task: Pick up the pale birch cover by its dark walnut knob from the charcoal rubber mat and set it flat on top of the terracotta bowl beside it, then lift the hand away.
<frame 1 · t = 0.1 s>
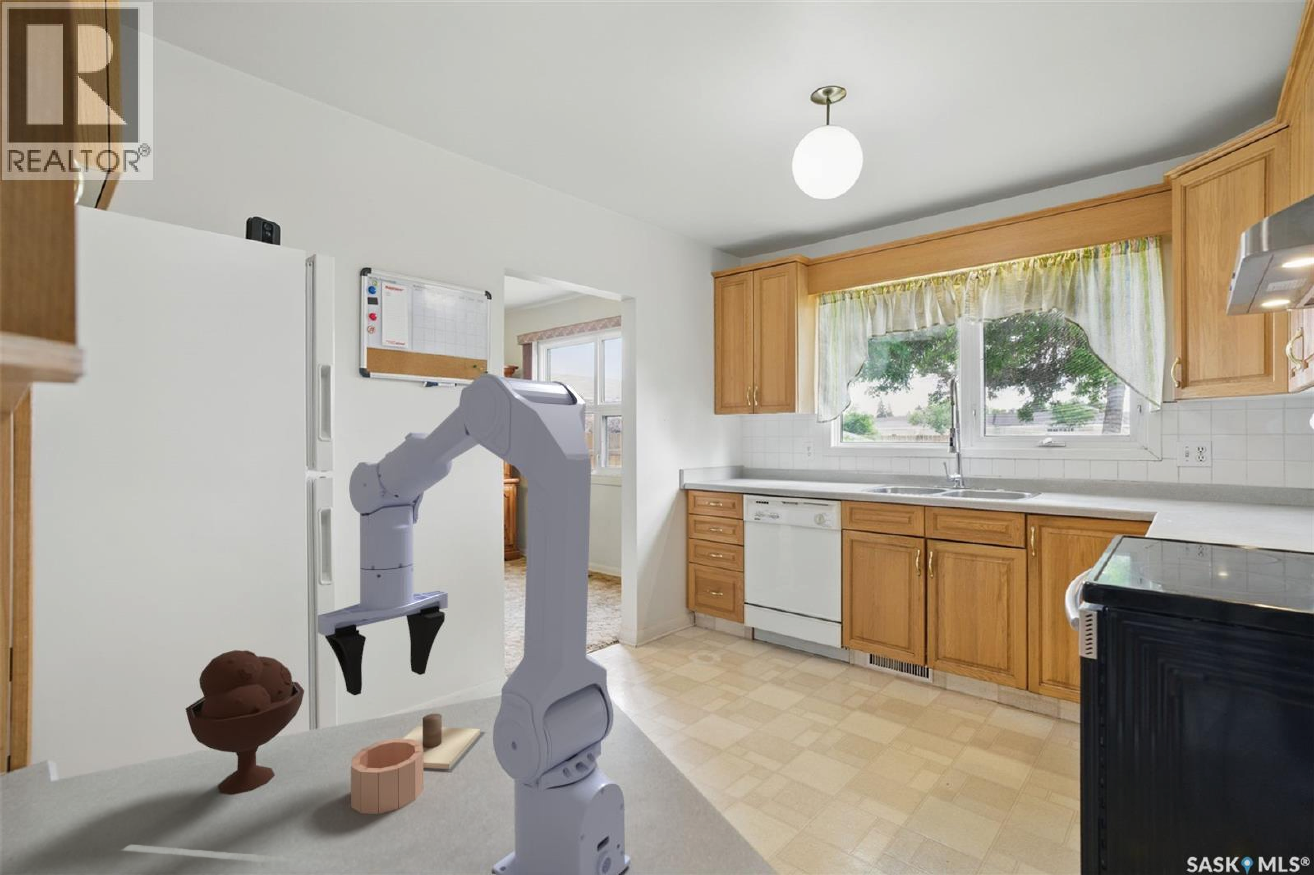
hand: (387, 682, 71), 10 cm above the countertop, tool pointing down, fingers open, 7 cm apart
bowl: (387, 797, 65), on the countertop
mat: (432, 751, 74), on the countertop
cover: (432, 748, 74), on the countertop, touching mat
ice cream bowl: (246, 786, 67), on the countertop
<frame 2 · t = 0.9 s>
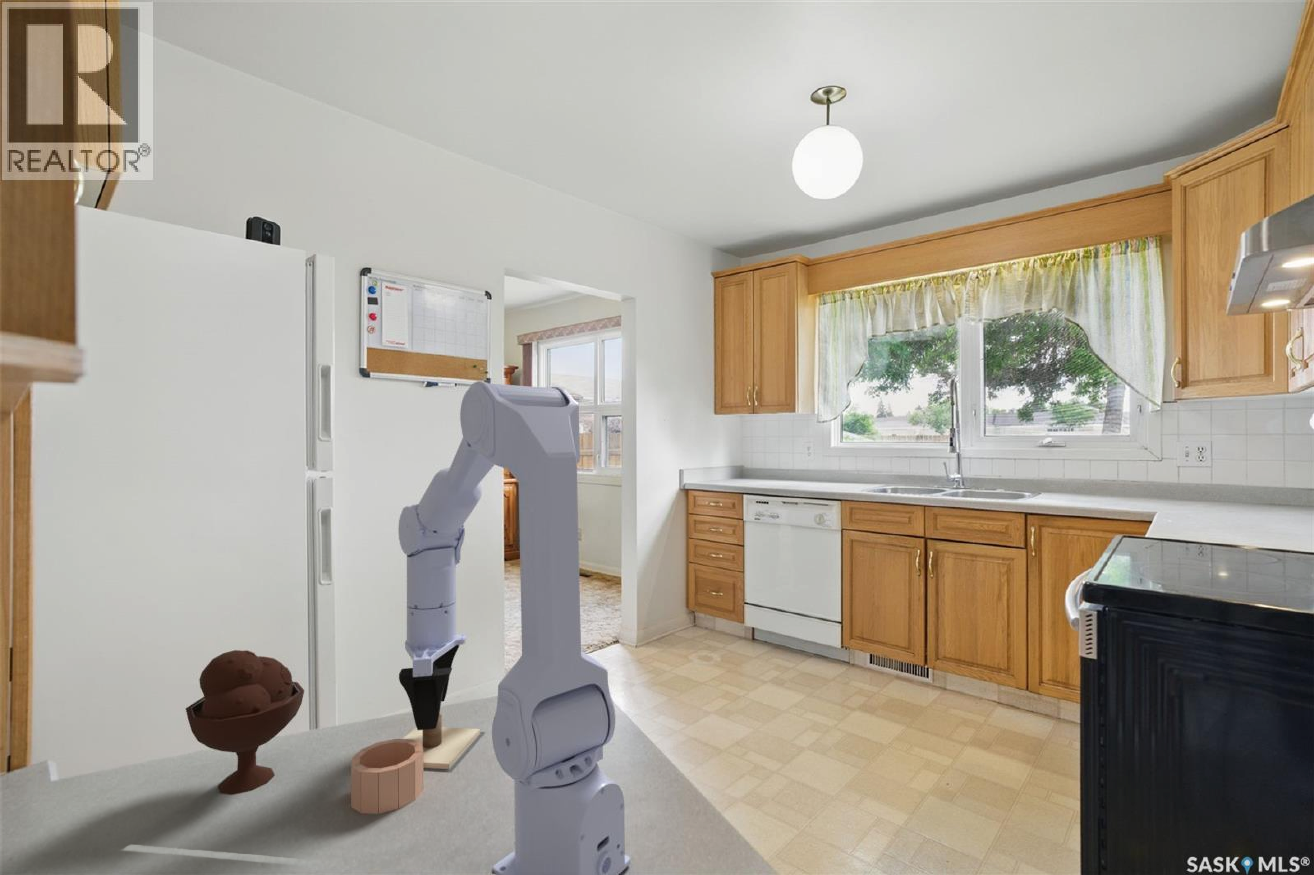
hand: (431, 714, 74), 5 cm above the countertop, tool pointing down, fingers open, 7 cm apart
nothing on the countertop moved.
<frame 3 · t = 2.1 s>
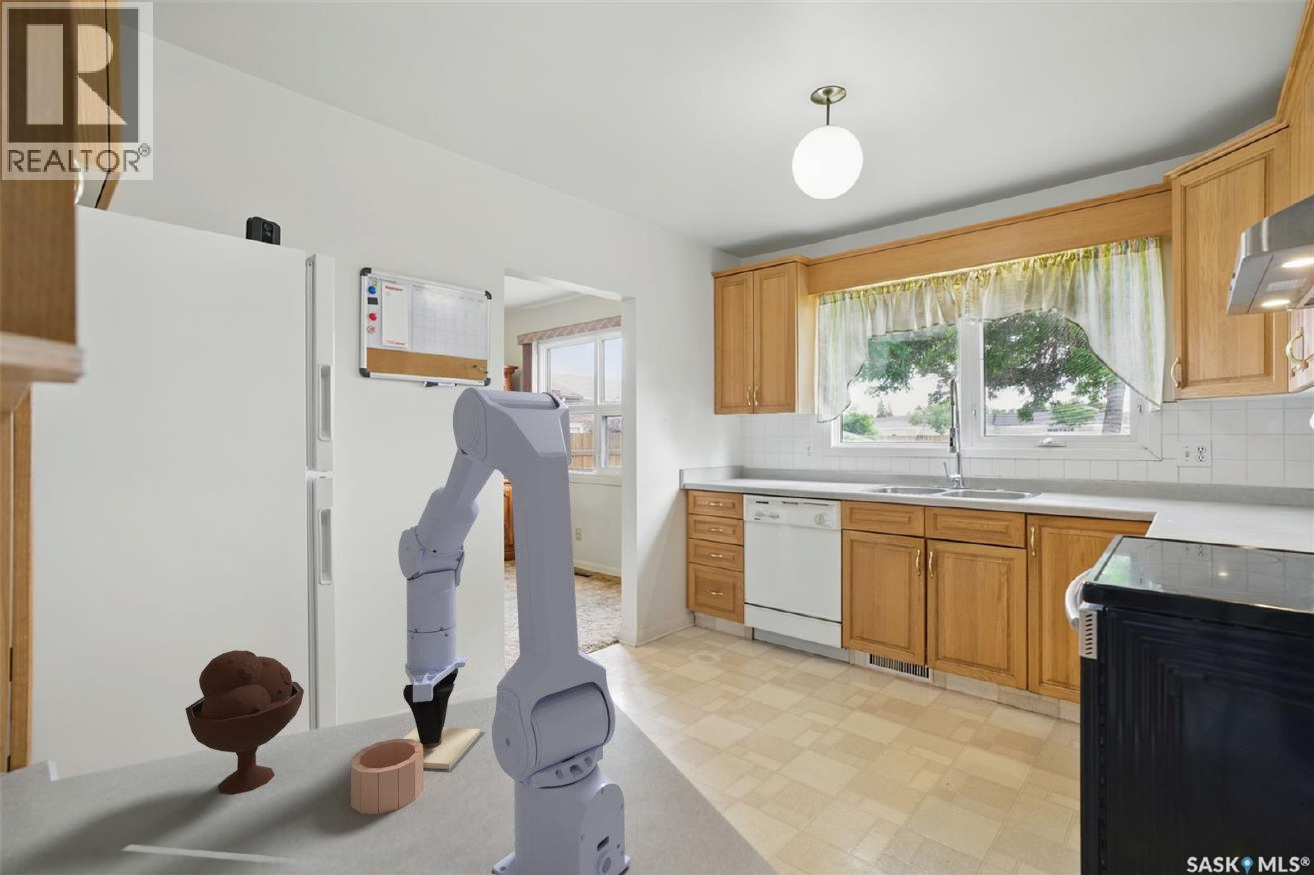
hand: (432, 737, 74), 2 cm above the countertop, tool pointing down, fingers closed on cover, 2 cm apart
cover: (432, 748, 74), on the countertop, touching gripper, mat
everything else where it was.
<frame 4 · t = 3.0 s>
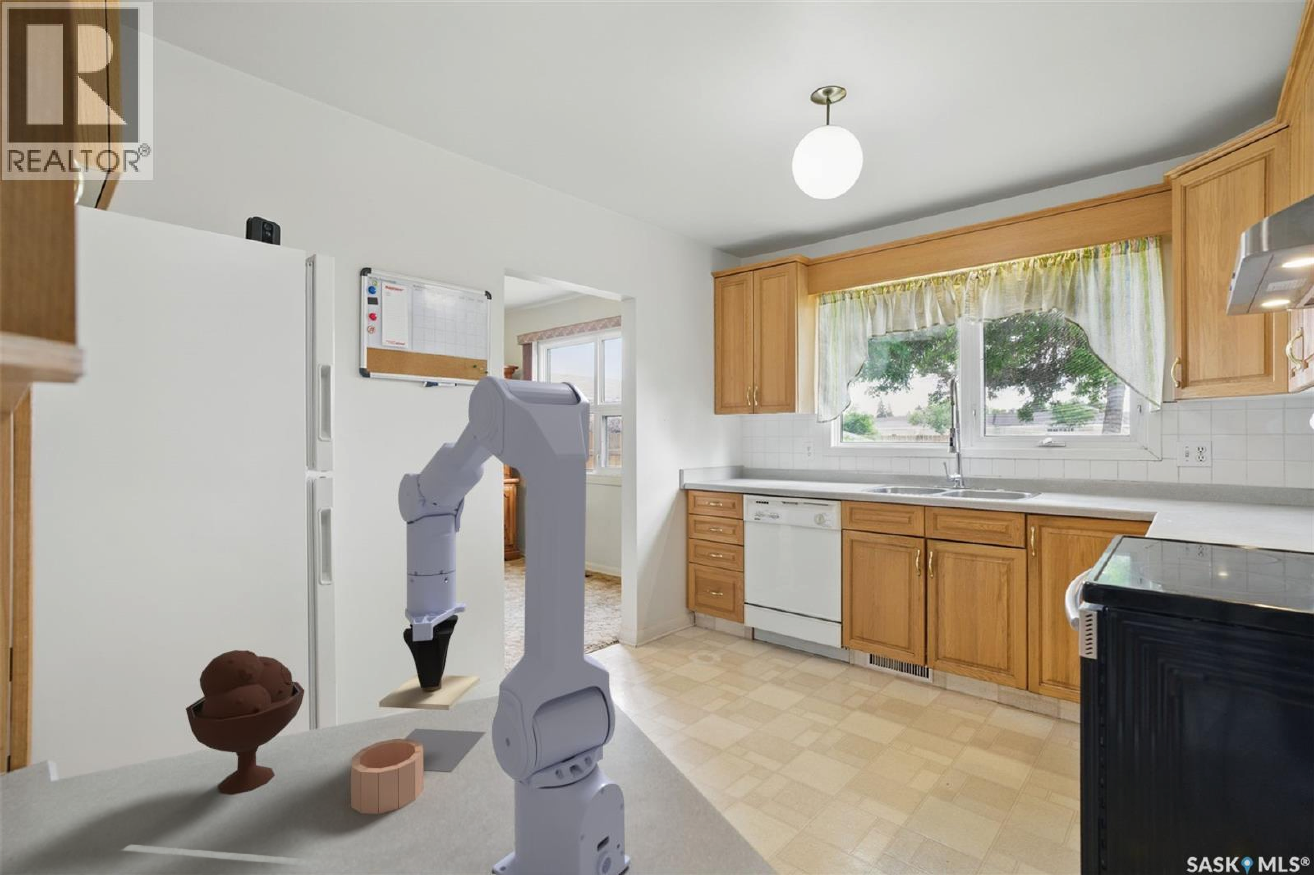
hand: (432, 682, 74), 9 cm above the countertop, tool pointing down, fingers closed on cover, 2 cm apart
cover: (432, 693, 74), point 7 cm above the countertop, touching gripper
everything else where it was.
when the fingers open (7 cm above the countertop, at t = 4.3 s): cover drops 1 cm, resting on bowl.
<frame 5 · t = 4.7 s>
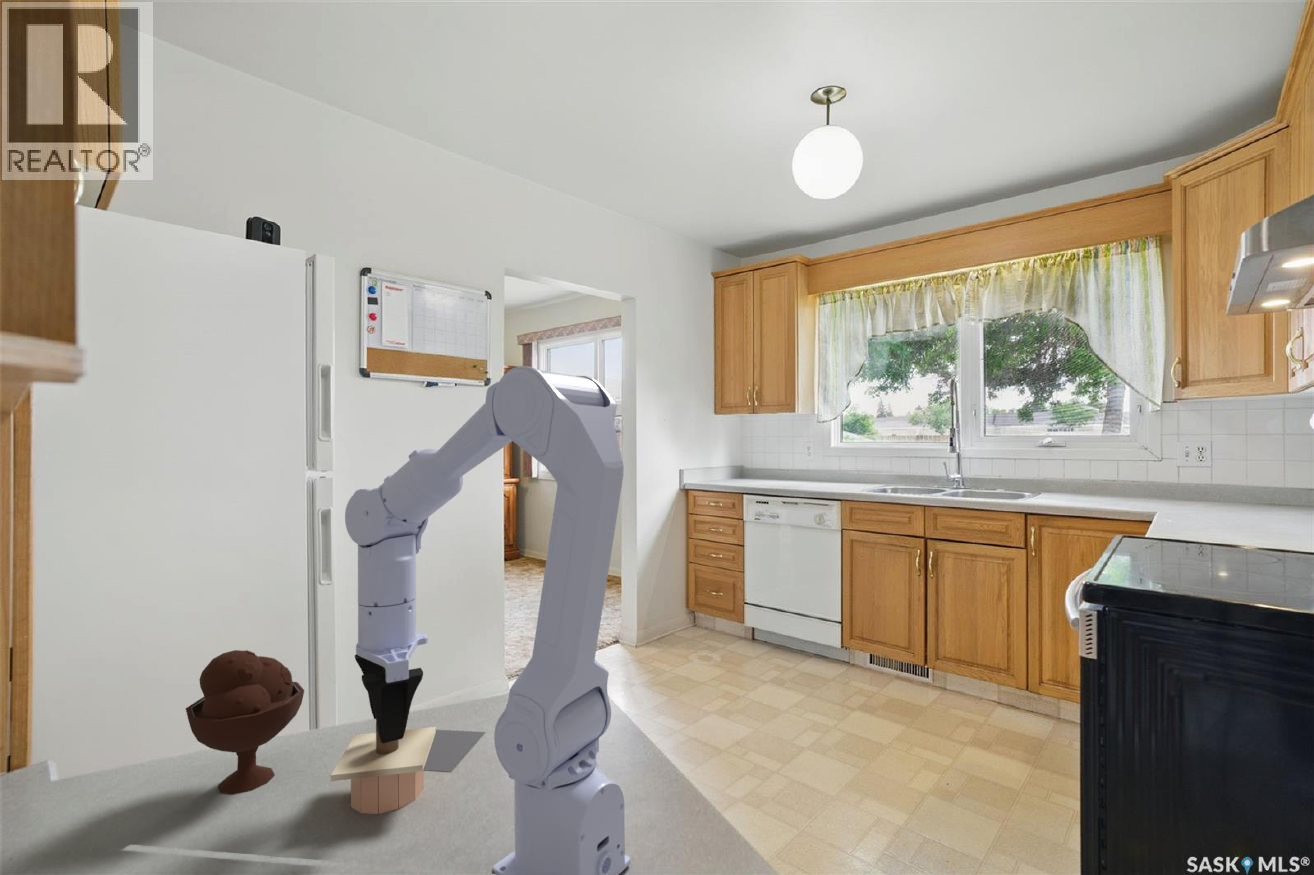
hand: (387, 727, 65), 7 cm above the countertop, tool pointing down, fingers open, 6 cm apart
cover: (387, 754, 65), point 4 cm above the countertop, touching bowl
everything else where it was.
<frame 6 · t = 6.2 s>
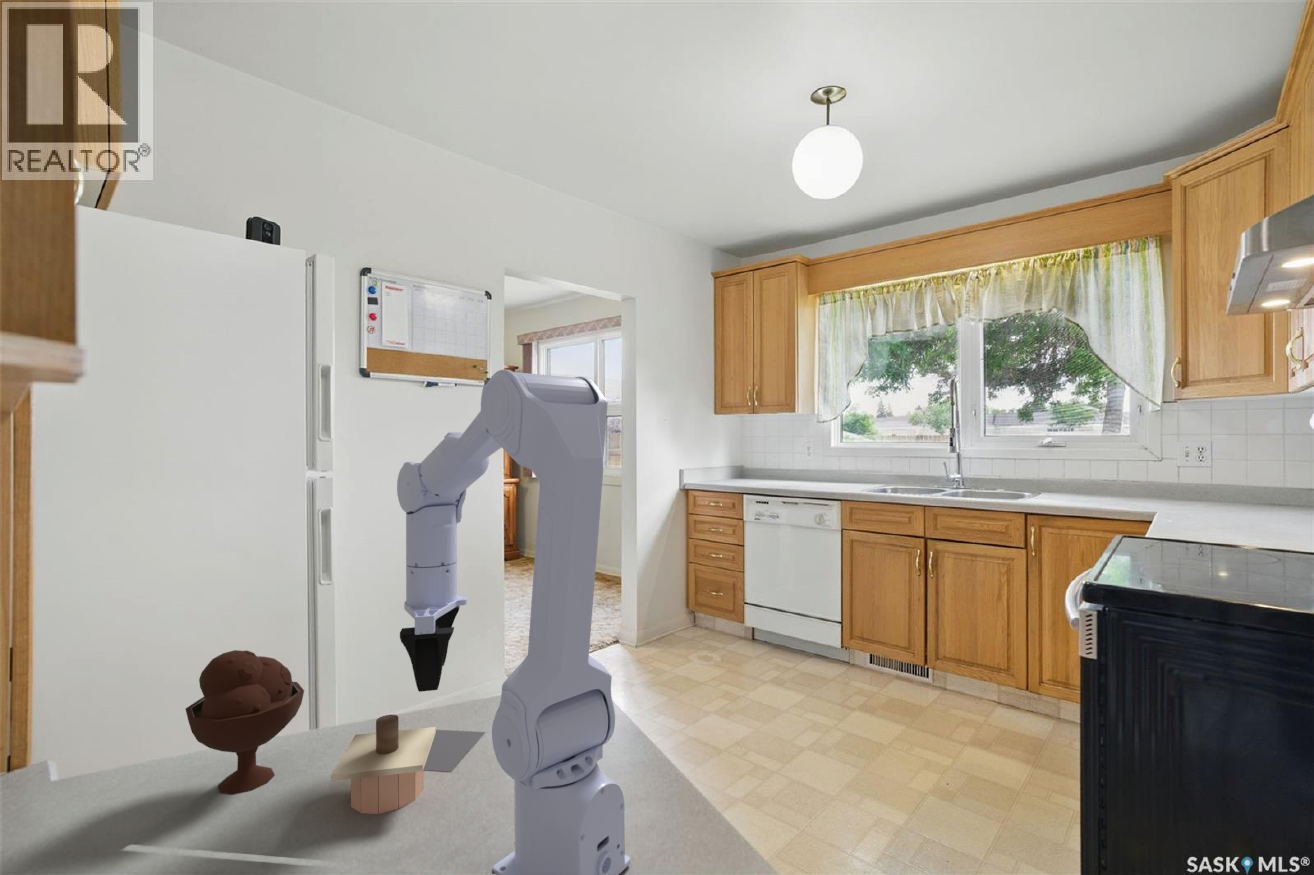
hand: (432, 677, 72), 10 cm above the countertop, tool pointing down, fingers open, 7 cm apart
nothing on the countertop moved.
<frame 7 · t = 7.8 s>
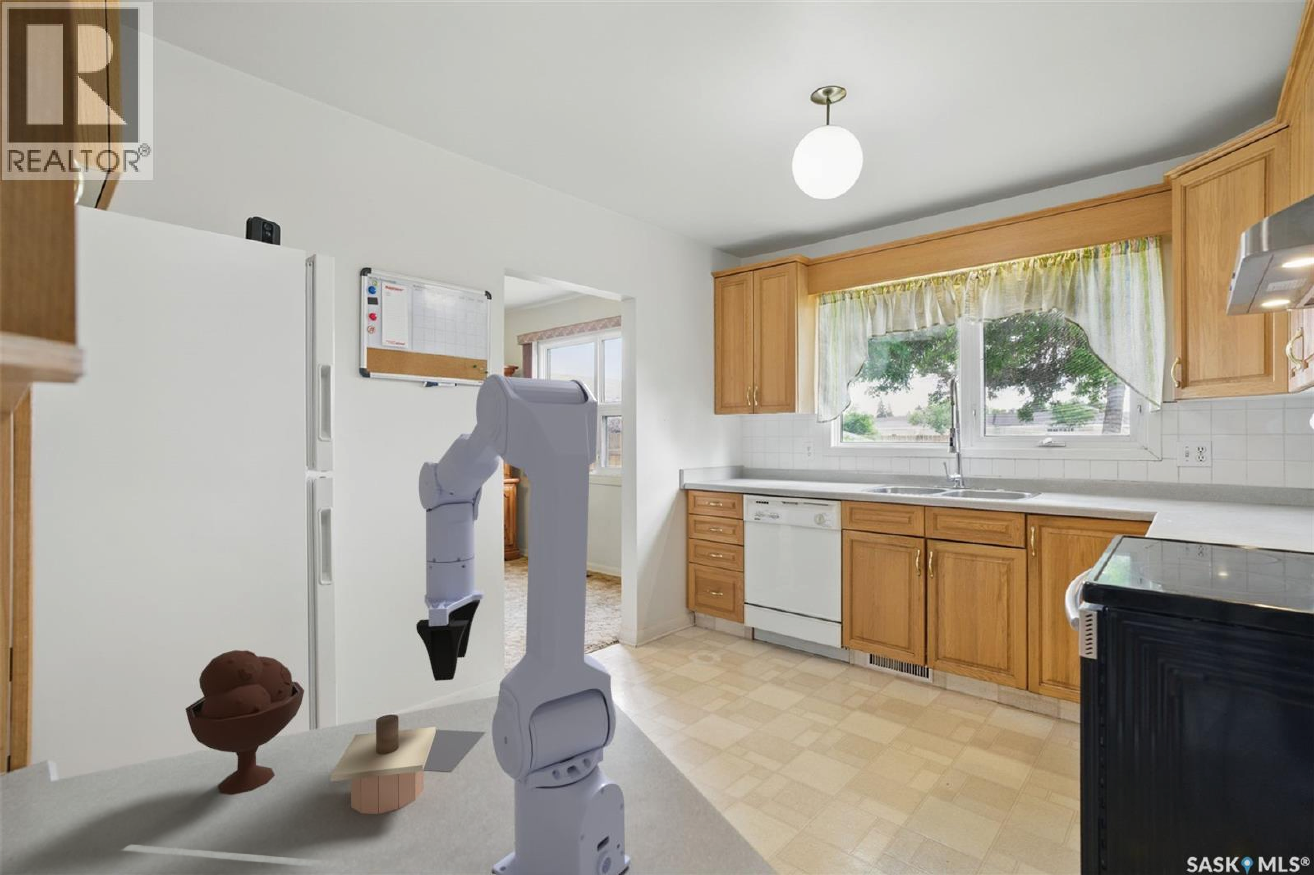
hand: (450, 667, 75), 10 cm above the countertop, tool pointing down, fingers open, 7 cm apart
nothing on the countertop moved.
at the end: cover 0.0 cm off-centre on the bowl, point 4.5 cm above the bowl's base; cover tilted 0°; the gripper is holding nothing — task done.
